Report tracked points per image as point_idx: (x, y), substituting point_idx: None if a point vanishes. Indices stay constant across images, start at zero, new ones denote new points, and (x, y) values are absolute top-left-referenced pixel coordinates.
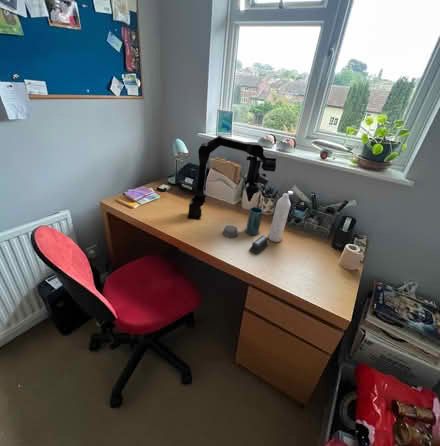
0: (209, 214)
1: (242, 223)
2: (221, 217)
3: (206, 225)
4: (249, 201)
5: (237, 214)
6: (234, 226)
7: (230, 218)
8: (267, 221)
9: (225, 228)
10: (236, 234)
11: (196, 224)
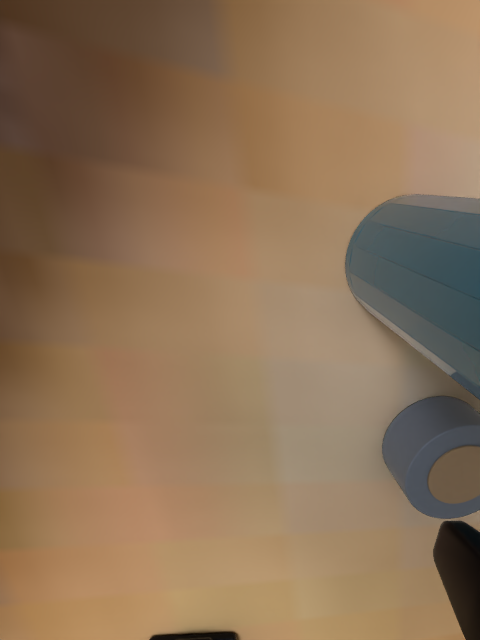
0: (136, 584)
1: (251, 333)
2: (168, 503)
3: (314, 585)
4: (455, 533)
5: (63, 369)
6: (427, 446)
7: (170, 435)
8: (152, 3)
9: (457, 512)
10: (460, 402)
11: (306, 635)
